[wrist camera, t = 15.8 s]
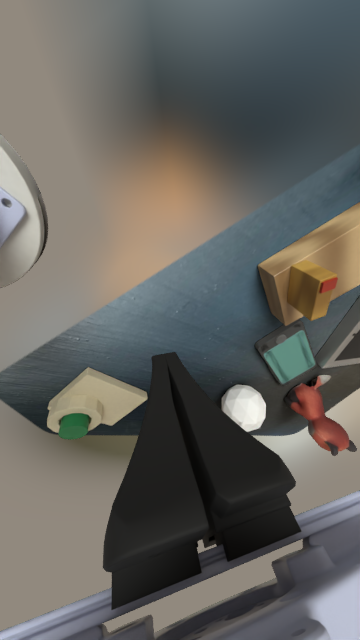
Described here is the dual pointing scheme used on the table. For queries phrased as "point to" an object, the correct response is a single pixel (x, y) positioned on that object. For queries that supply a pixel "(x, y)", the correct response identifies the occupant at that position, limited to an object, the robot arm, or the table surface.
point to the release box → (94, 399)
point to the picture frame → (343, 341)
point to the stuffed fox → (318, 416)
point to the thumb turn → (310, 289)
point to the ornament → (244, 406)
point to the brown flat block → (315, 261)
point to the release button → (74, 426)
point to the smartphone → (287, 352)
